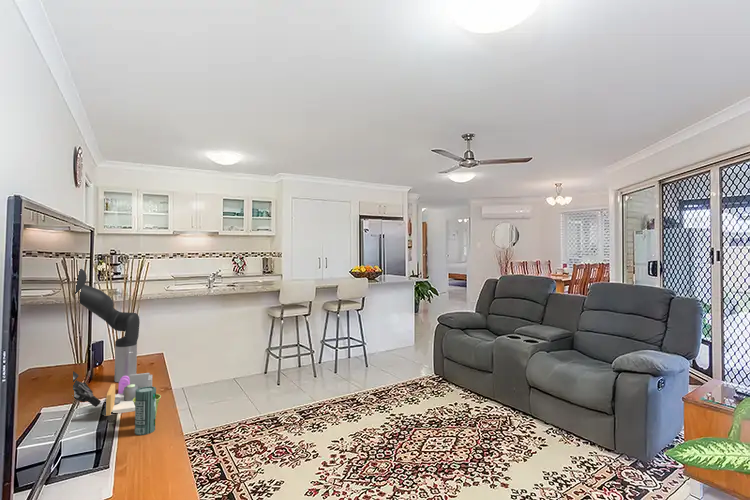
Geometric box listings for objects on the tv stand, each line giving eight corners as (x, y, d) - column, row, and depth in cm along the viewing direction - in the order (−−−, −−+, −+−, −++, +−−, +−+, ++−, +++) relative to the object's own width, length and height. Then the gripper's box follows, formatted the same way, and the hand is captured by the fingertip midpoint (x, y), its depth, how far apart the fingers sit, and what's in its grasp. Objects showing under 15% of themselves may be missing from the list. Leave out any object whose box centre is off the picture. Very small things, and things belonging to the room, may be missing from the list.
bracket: (118, 395, 179) (118, 379, 179) (119, 391, 184) (120, 376, 184) (151, 391, 184) (152, 376, 184) (152, 387, 189) (152, 372, 189)
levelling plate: (108, 397, 175) (109, 375, 175) (157, 391, 184) (157, 370, 184) (101, 415, 156) (101, 391, 156) (155, 408, 165) (155, 384, 165)
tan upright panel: (106, 401, 166) (107, 382, 166) (120, 400, 168) (121, 381, 168) (100, 417, 151) (100, 395, 151) (115, 414, 154) (116, 394, 154)
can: (158, 428, 146) (159, 387, 146) (145, 436, 140) (146, 392, 140) (144, 426, 148) (145, 385, 148) (130, 434, 142) (131, 391, 142)
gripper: (64, 373, 144) (104, 402, 149) (72, 363, 156) (109, 390, 161) (45, 390, 141) (86, 419, 147) (55, 379, 153) (93, 406, 159)
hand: (98, 404), depth 154 cm, fingers closed
